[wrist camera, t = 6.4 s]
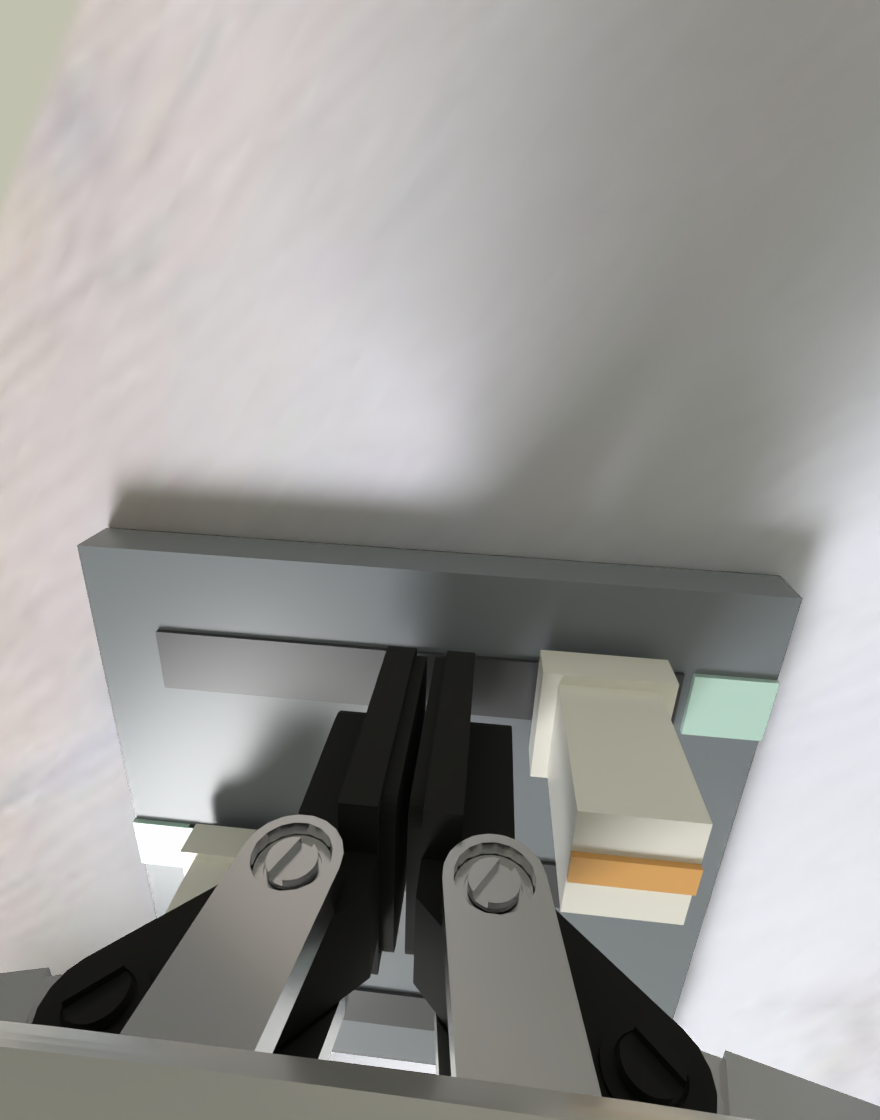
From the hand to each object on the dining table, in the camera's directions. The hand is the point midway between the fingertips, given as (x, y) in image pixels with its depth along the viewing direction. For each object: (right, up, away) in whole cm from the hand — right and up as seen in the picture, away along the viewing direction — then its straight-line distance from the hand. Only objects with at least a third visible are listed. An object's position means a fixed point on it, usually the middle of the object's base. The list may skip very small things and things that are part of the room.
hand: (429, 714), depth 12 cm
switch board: (0, -4, +4) cm, 6 cm away
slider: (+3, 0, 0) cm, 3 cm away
